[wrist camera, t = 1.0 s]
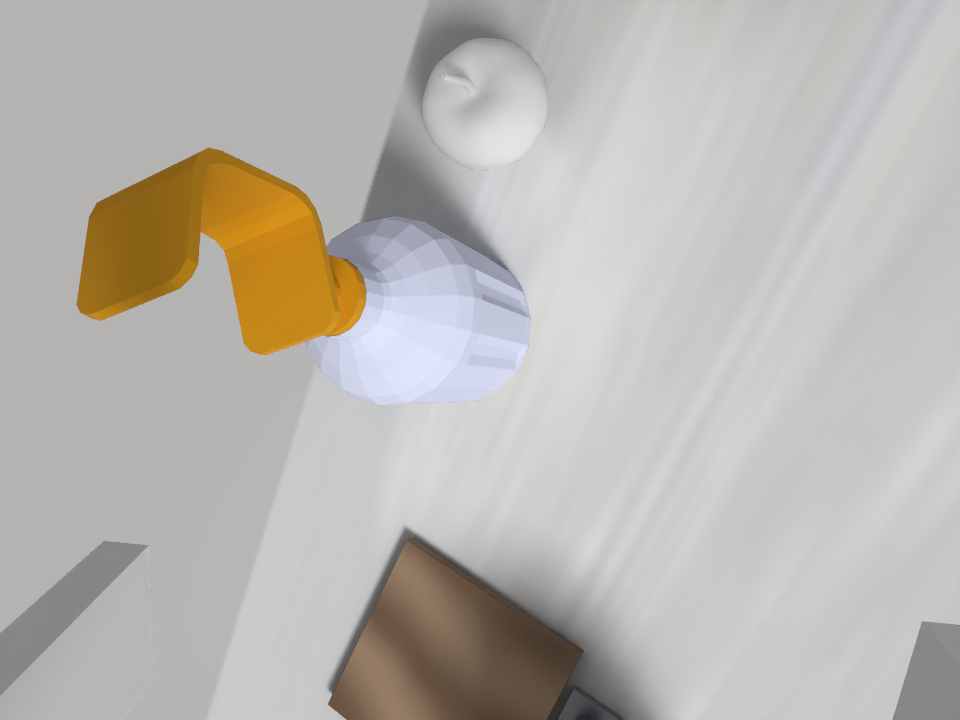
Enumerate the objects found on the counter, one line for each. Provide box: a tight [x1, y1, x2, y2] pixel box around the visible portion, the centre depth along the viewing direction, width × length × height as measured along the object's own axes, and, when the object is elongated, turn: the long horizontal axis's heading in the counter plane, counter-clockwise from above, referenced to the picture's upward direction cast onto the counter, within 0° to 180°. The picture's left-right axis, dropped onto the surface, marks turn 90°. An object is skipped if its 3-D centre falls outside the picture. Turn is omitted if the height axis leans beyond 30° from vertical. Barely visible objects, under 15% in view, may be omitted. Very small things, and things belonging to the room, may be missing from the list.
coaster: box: [328, 538, 583, 720], centre depth 40 cm, size 12×12×1 cm
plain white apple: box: [421, 38, 548, 170], centre depth 37 cm, size 7×7×8 cm
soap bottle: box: [77, 148, 531, 405], centre depth 29 cm, size 9×9×25 cm
